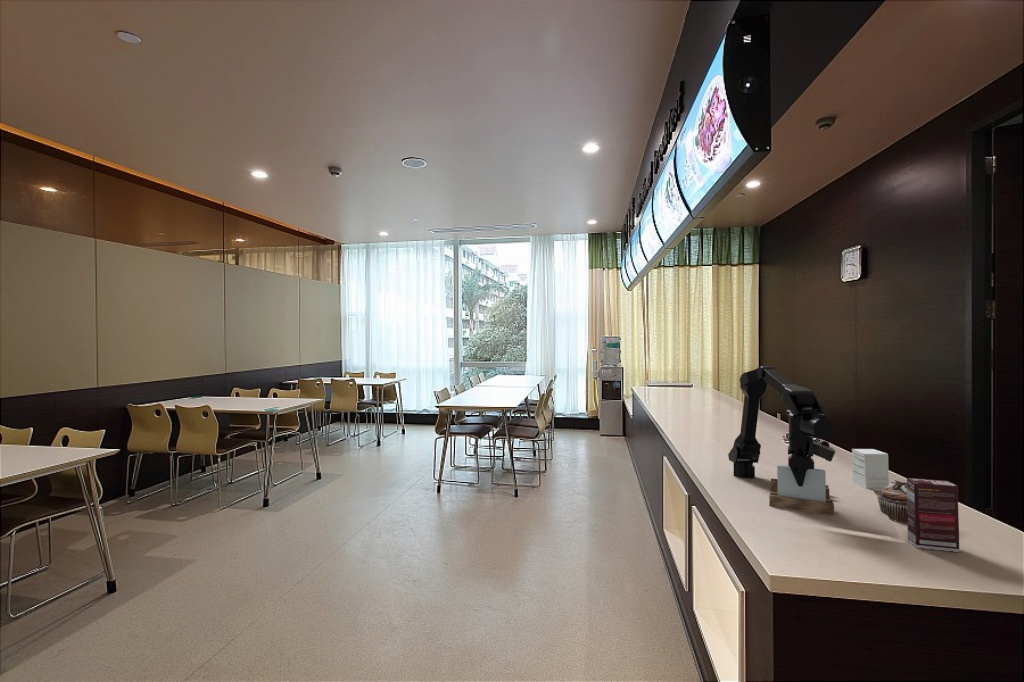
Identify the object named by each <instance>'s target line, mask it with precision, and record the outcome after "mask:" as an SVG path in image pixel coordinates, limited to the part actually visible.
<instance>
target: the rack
mask: <svg viewBox="0 0 1024 682" xmlns="http://www.w3.org/2000/svg"><path fill="white" fill-rule="evenodd" d="M777 491H778V478H774V477H773V478H770V491H769V497H768V499H769V507H775V508H783V509H790V510H796V511H797V510H798V511H803V512H810V513H816V514H817V513H818V514H821V515H822V514H825V515H830V516H835V504H834V499H830V487H829V485H828V484H826V502H820V501H813V500H805V499H798V498H791V497H784V496H778V492H777Z"/></svg>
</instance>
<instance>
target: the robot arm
mask: <svg viewBox="0 0 1024 682" xmlns="http://www.w3.org/2000/svg"><path fill="white" fill-rule="evenodd" d="M768 386H770V387H771V388H772V389H774V390H775V392H778V394H779V395H780V396H781V401H782V403H783V404H784V405H785V407H786V408H787V410H786V411H785V412H784V414H785V415H786V416H788V447H787V455H789V456H788V457H787V461H788V462H787V466H789V467H790V468H791V471H792V473H793V475H794V477H795V480H796V482H797V484H798V486H801V487H802V486H803V483H804V479H805V475H806V471H807V470H808V469H815V461H814V460H815V459H813V457H814V456H816V457H819V458H822V459H823V460H825V461H828V462H832V460H833V459H834V457H835V455H836V450H835V449H834V448H833V447H831V446H830V442H828V441H827V440H828V439H830V438H831V437H832V436H833V434H834V431H835V427H834V426H833V423H832V422H831V421H830V420H829V419H827V414H824V411H823V408H822V406H821V404H820V403H819V401H818V398H817V397H816V395H815V392H813V390H811V389H809V388H807V387H804V386H801V385H797V384H795V383H793V382H792V381H791V380H790V379H788V378H787V377H786V376H784V375H783V374H782V373H780V372H779V370H777V368H776V366H767V365H766V366H764V365H763V366H759V367H756V368H755V369H752V370H750V371H747V372H743V373H742V374H741V375H740V377H739V389H740V390H741V391H742V393H743V394H742V395H744V396H743V397H744V398H743V406H742V414H741V424H740V433H739V435H737V436H736V438H734V442H733V446H732V448H731V449H730V451H729V452H728V453H727V456H728V461H730V462H732V463H733V477H736V478H741V479H756V466H755V465H754V464H758V463H759V460H760V455H761V447H762V445H761V442H760V443H759V441H758V439H757V437H756V436H757V427H758V421H759V420H758V418H759V411H760V403H761V401H760V400H761V398H762V397H763V395H765V393H766V392H767V389H768ZM814 438H815V439H819V440H822V441H820V442H818V441H814Z"/></svg>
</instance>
